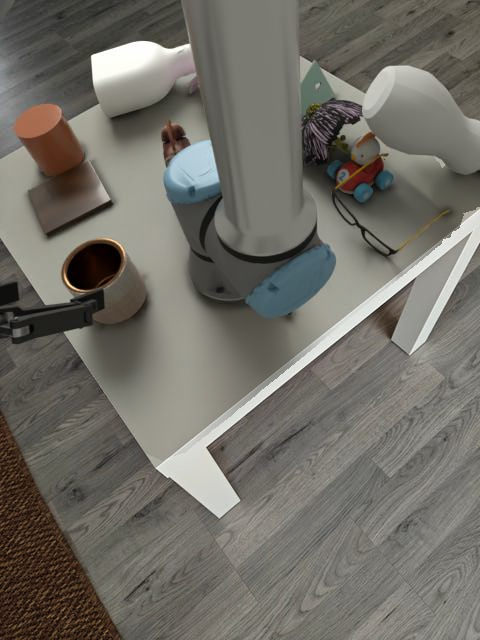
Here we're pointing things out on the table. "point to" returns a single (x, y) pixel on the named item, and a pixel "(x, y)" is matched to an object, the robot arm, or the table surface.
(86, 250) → the planter
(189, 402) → the table surface
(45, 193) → the brown wooden square plate
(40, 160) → the copper solid cylinder
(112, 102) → the bottle
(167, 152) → the alarm clock
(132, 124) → the table surface
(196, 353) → the table surface
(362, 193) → the toy car
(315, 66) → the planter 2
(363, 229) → the eyeglasses
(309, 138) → the decorative flower
